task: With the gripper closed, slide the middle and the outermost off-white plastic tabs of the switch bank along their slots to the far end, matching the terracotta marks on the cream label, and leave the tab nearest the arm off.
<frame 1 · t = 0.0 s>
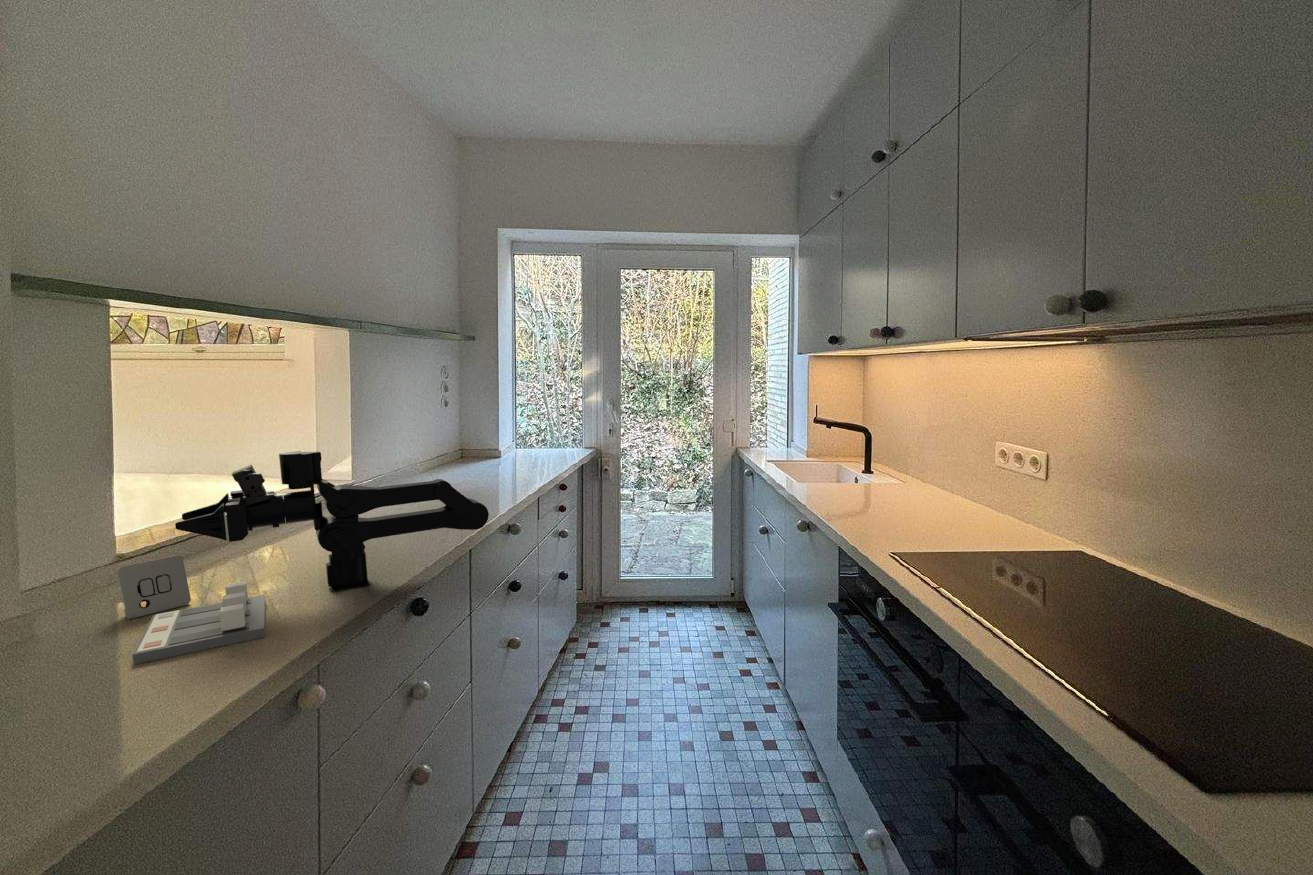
hand: (178, 521, 108), 17 cm above the countertop, tool horizontal, fingers open, 9 cm apart
switch tab 2: (234, 604, 104), point 3 cm above the countertop, slide at 0.0 cm
electrical switch: (155, 611, 113), on the countertop
switch housing: (207, 629, 102), on the countertop
switch tab 3: (232, 617, 98), point 3 cm above the countertop, slide at 0.0 cm
switch tab 1: (236, 592, 110), point 3 cm above the countertop, slide at 0.0 cm
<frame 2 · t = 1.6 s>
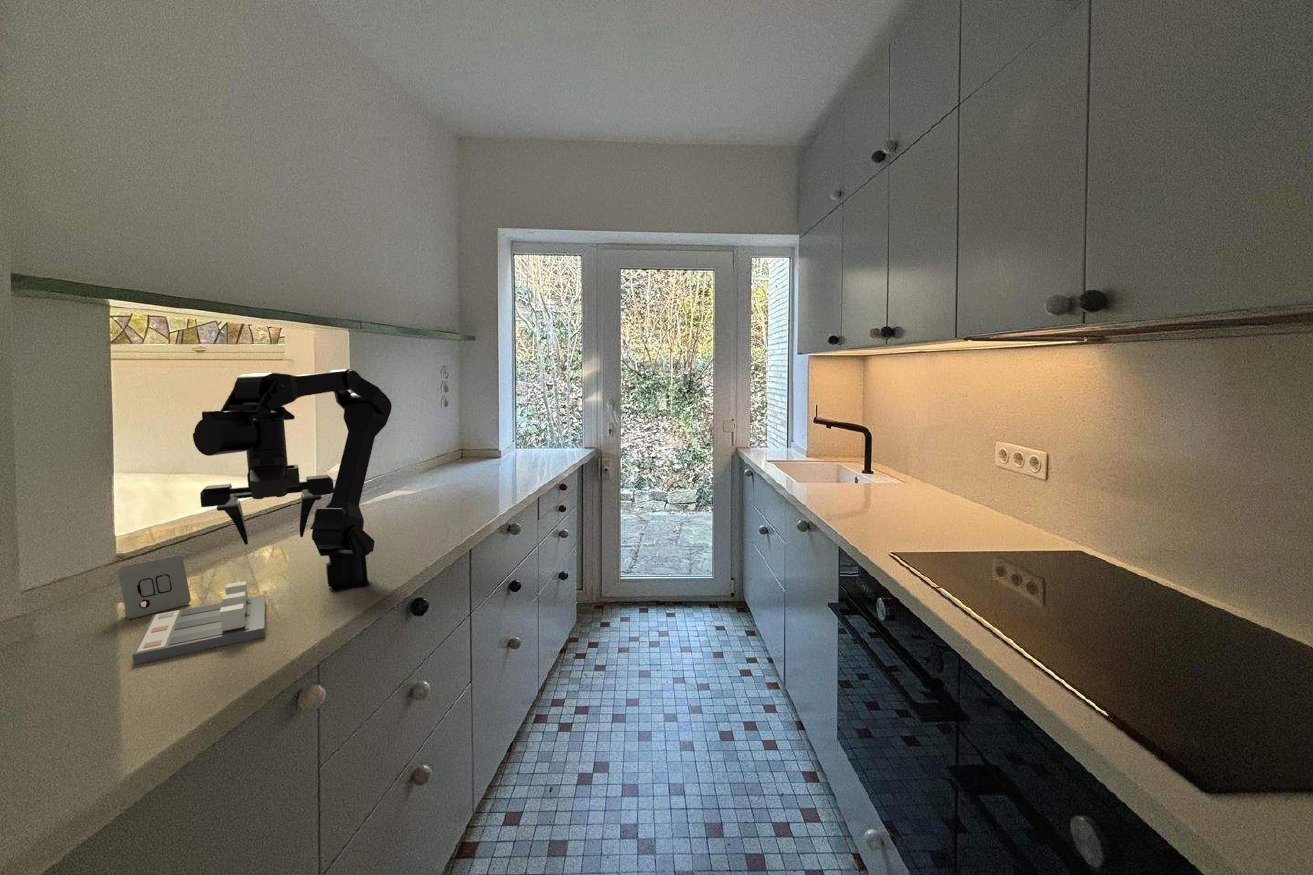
hand: (274, 540, 106), 13 cm above the countertop, tool pointing down, fingers open, 8 cm apart
nothing on the countertop moved.
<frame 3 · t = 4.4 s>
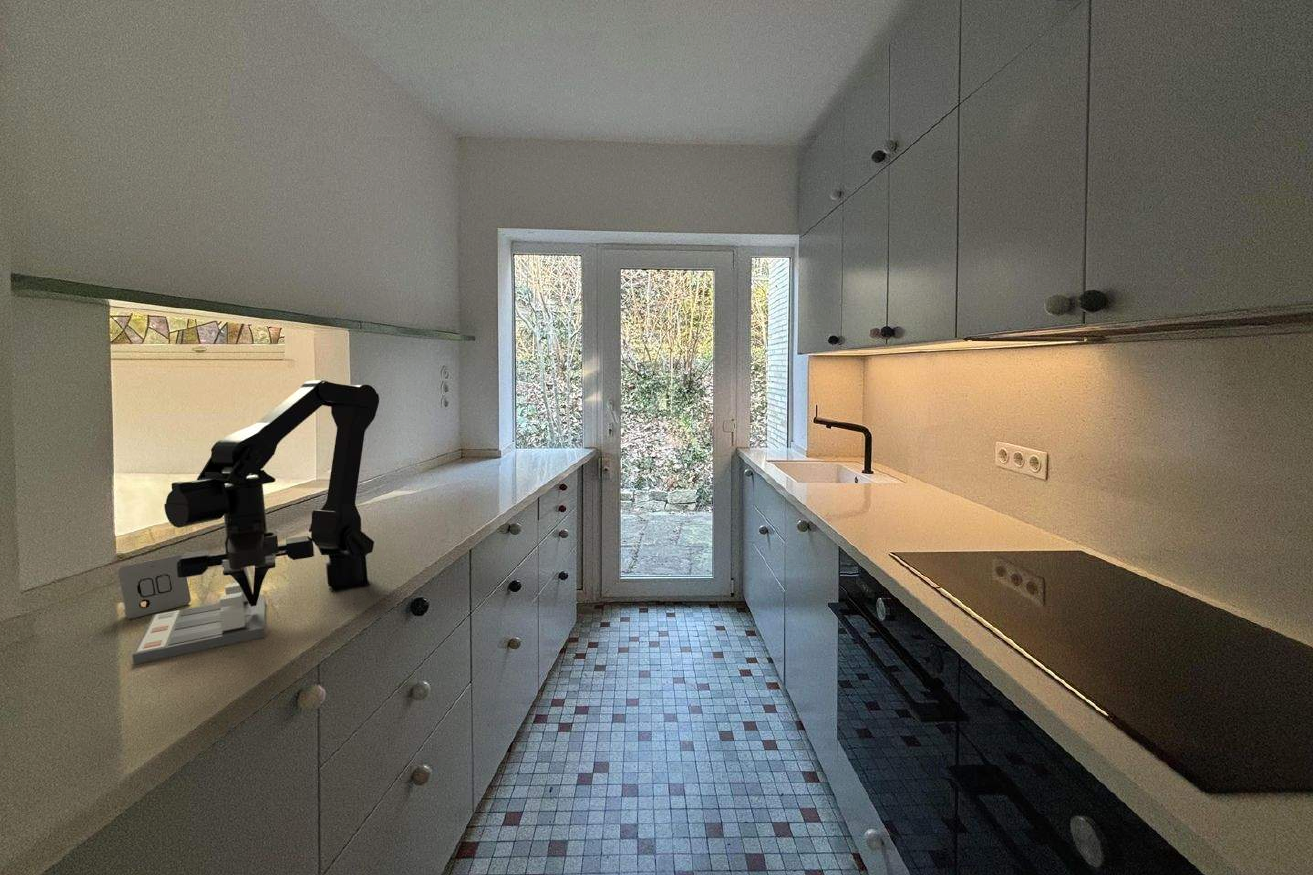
hand: (253, 605, 105), 3 cm above the countertop, tool pointing down, fingers closed
switch tab 2: (232, 604, 104), point 3 cm above the countertop, slide at 0.4 cm, touching gripper
everything else where it was.
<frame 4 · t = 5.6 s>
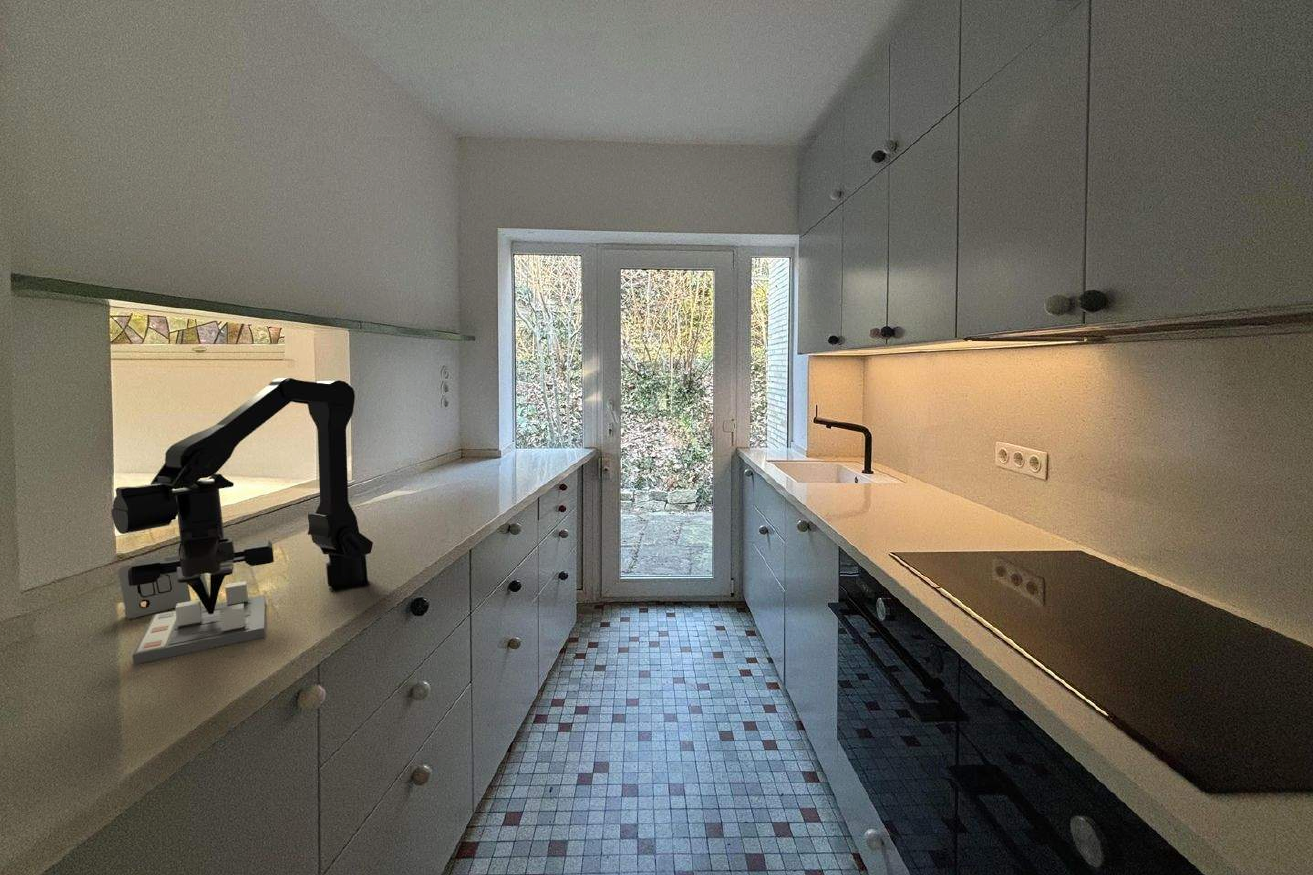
hand: (211, 613, 102), 3 cm above the countertop, tool pointing down, fingers closed
switch tab 2: (189, 612, 101), point 3 cm above the countertop, slide at 6.1 cm, touching gripper
everything else where it was.
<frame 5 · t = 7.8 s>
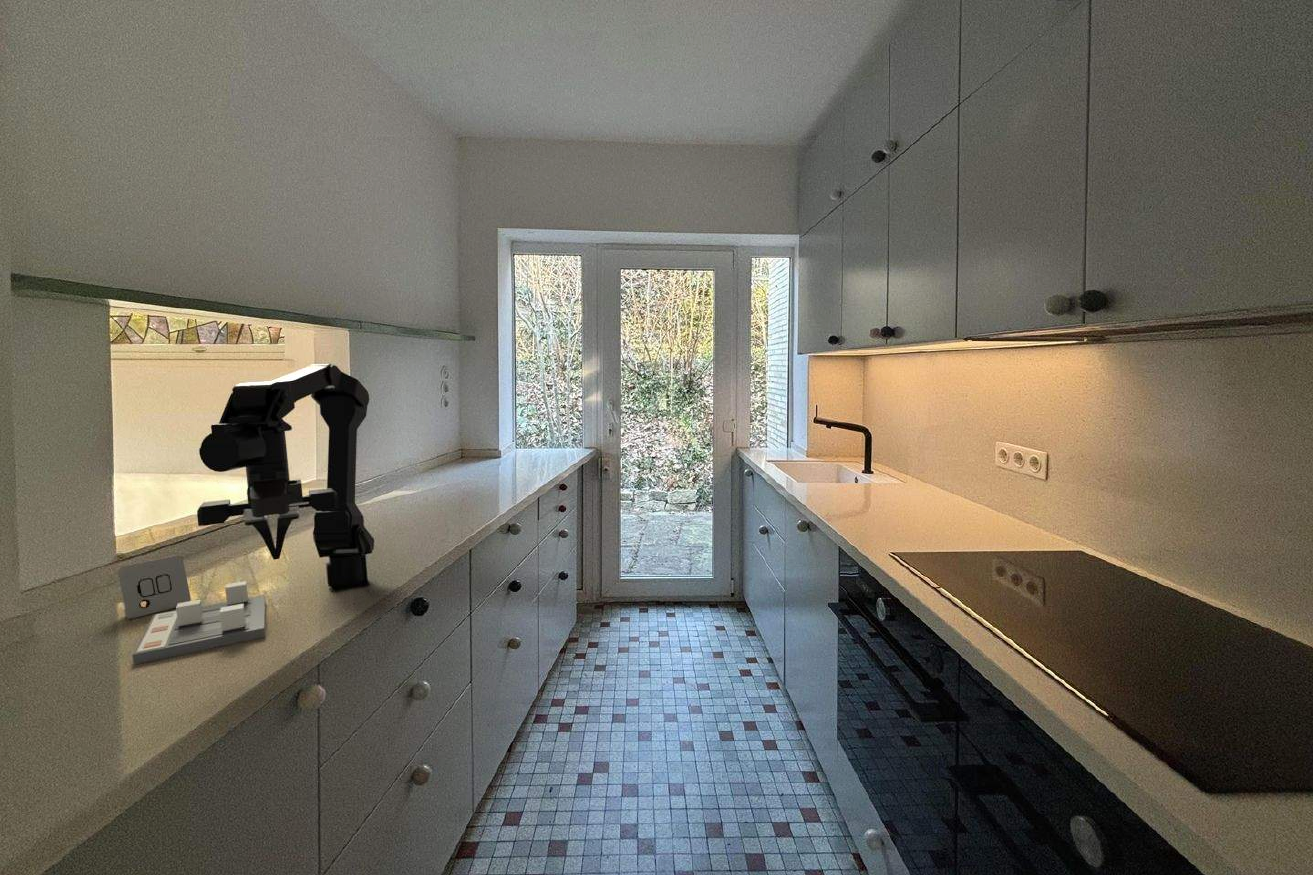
hand: (276, 558, 101), 11 cm above the countertop, tool pointing down, fingers closed
switch tab 2: (189, 612, 101), point 3 cm above the countertop, slide at 6.1 cm
everything else where it was.
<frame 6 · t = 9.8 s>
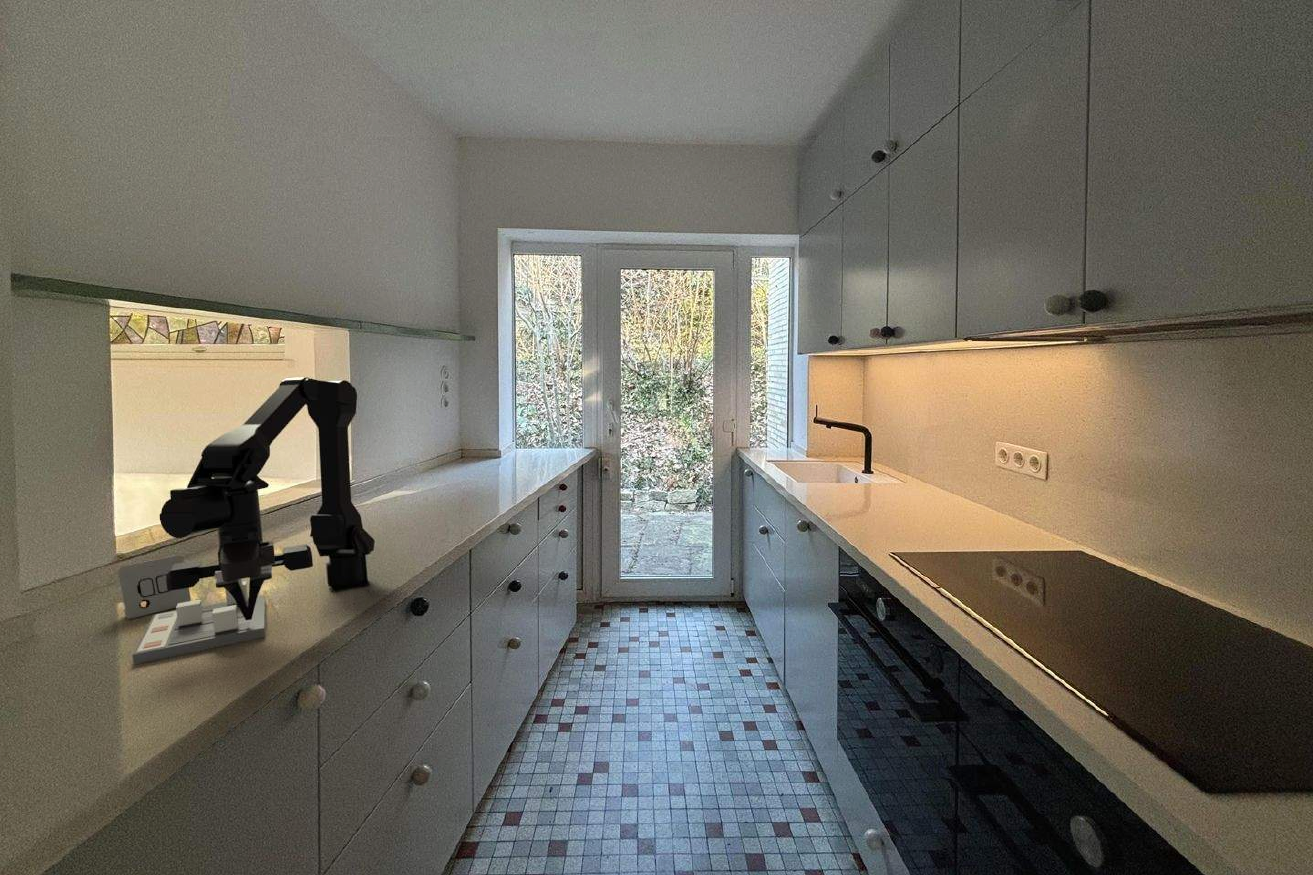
hand: (248, 619, 99), 3 cm above the countertop, tool pointing down, fingers closed
switch tab 3: (225, 618, 98), point 3 cm above the countertop, slide at 0.9 cm, touching gripper
everything else where it was.
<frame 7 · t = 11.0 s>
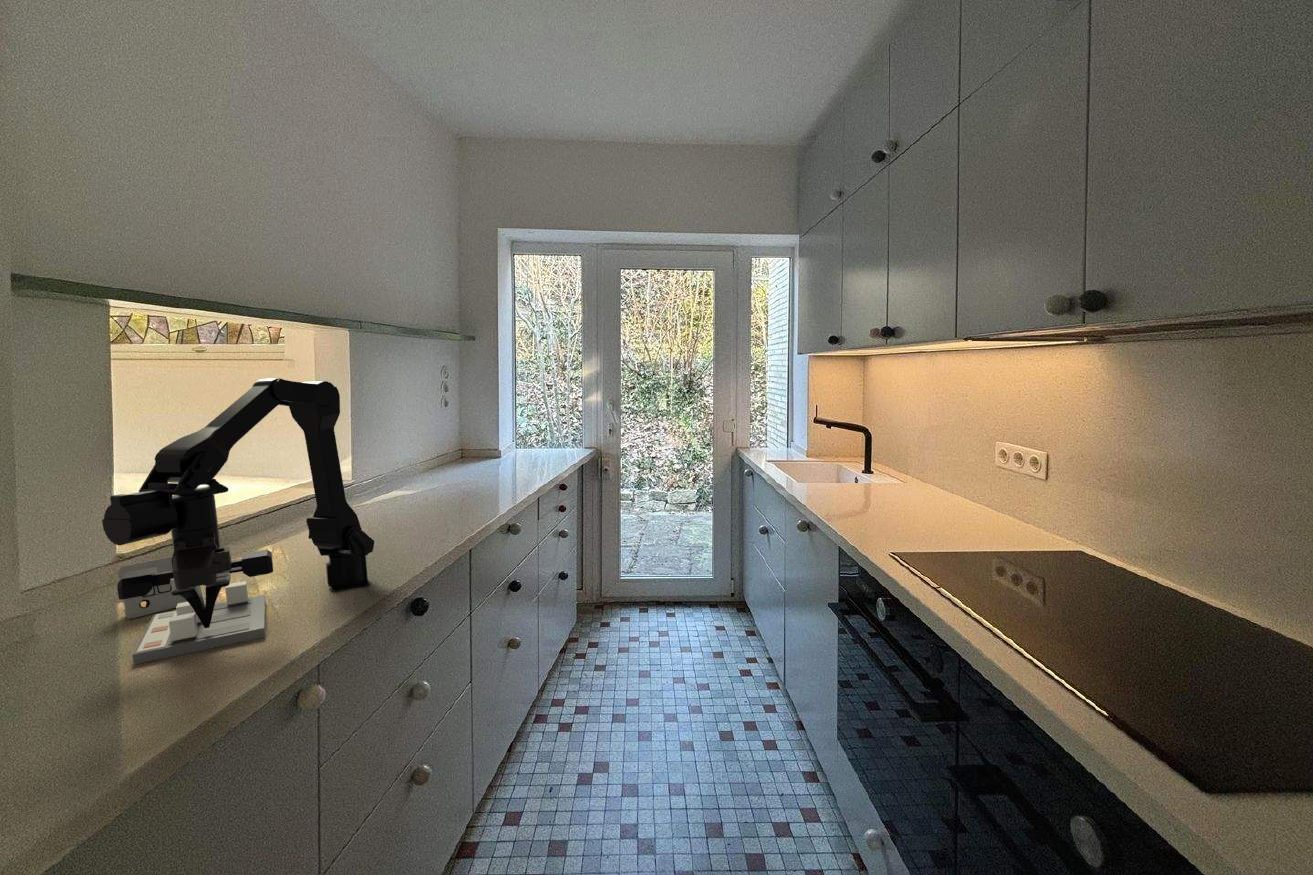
hand: (207, 627, 96), 3 cm above the countertop, tool pointing down, fingers closed
switch tab 3: (183, 626, 95), point 3 cm above the countertop, slide at 6.2 cm, touching gripper
everything else where it was.
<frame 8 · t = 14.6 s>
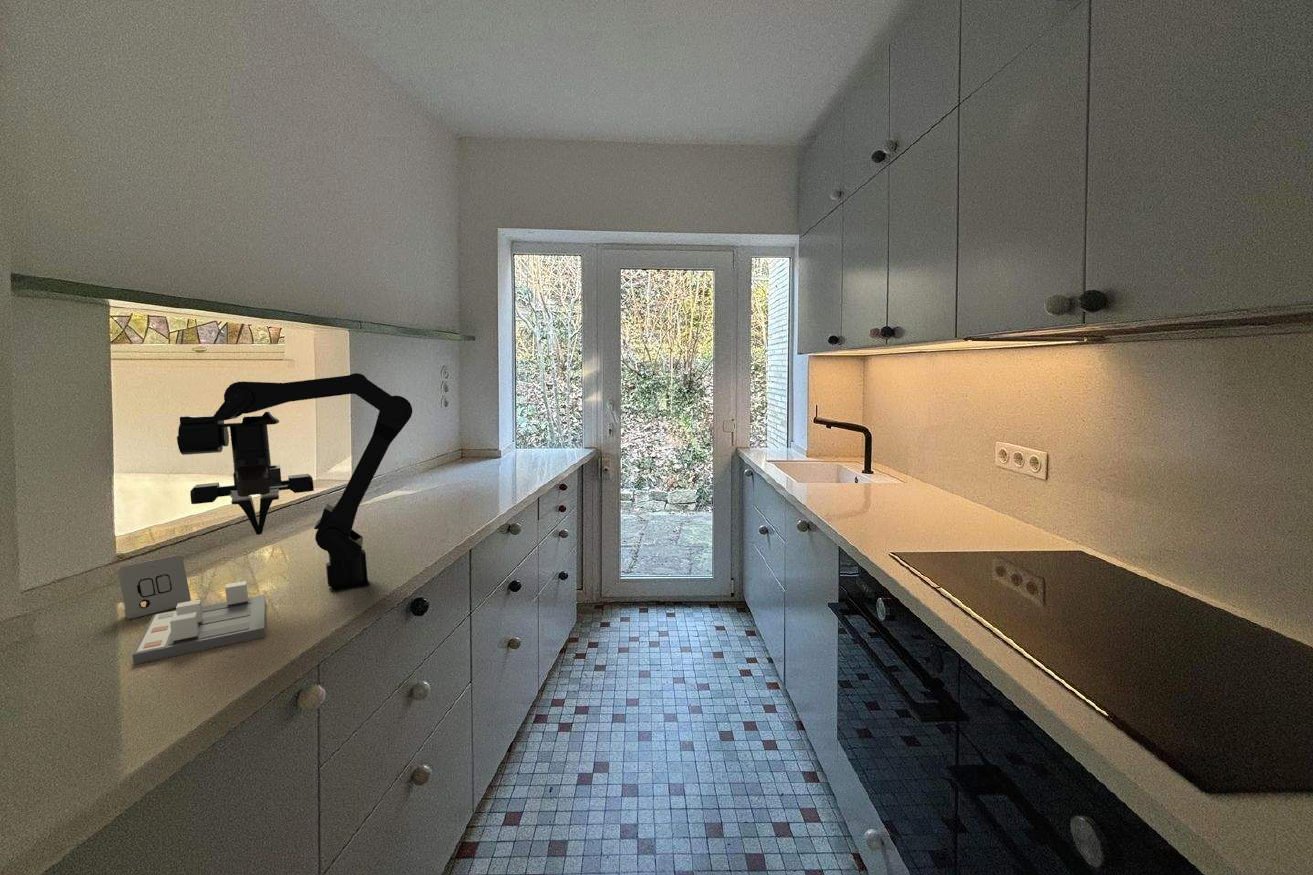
hand: (259, 534, 116), 12 cm above the countertop, tool pointing down, fingers closed
switch tab 3: (184, 626, 95), point 3 cm above the countertop, slide at 6.1 cm
everything else where it was.
at the end: switch tab 2 slide at 6.1 cm; switch tab 3 slide at 6.1 cm; switch tab 1 slide at 0.0 cm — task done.
